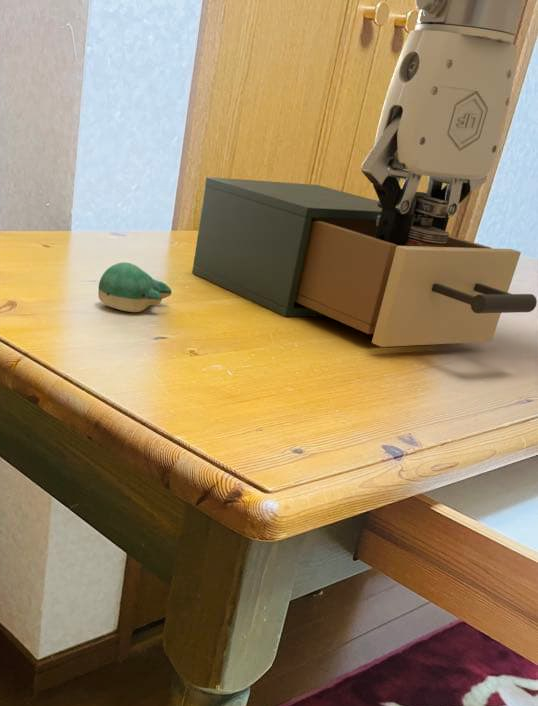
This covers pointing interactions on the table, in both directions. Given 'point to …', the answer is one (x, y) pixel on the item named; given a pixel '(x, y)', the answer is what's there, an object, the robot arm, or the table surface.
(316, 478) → the table surface
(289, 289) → the cabinet
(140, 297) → the whale figurine
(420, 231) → the lighter
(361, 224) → the drawer
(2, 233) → the table surface
